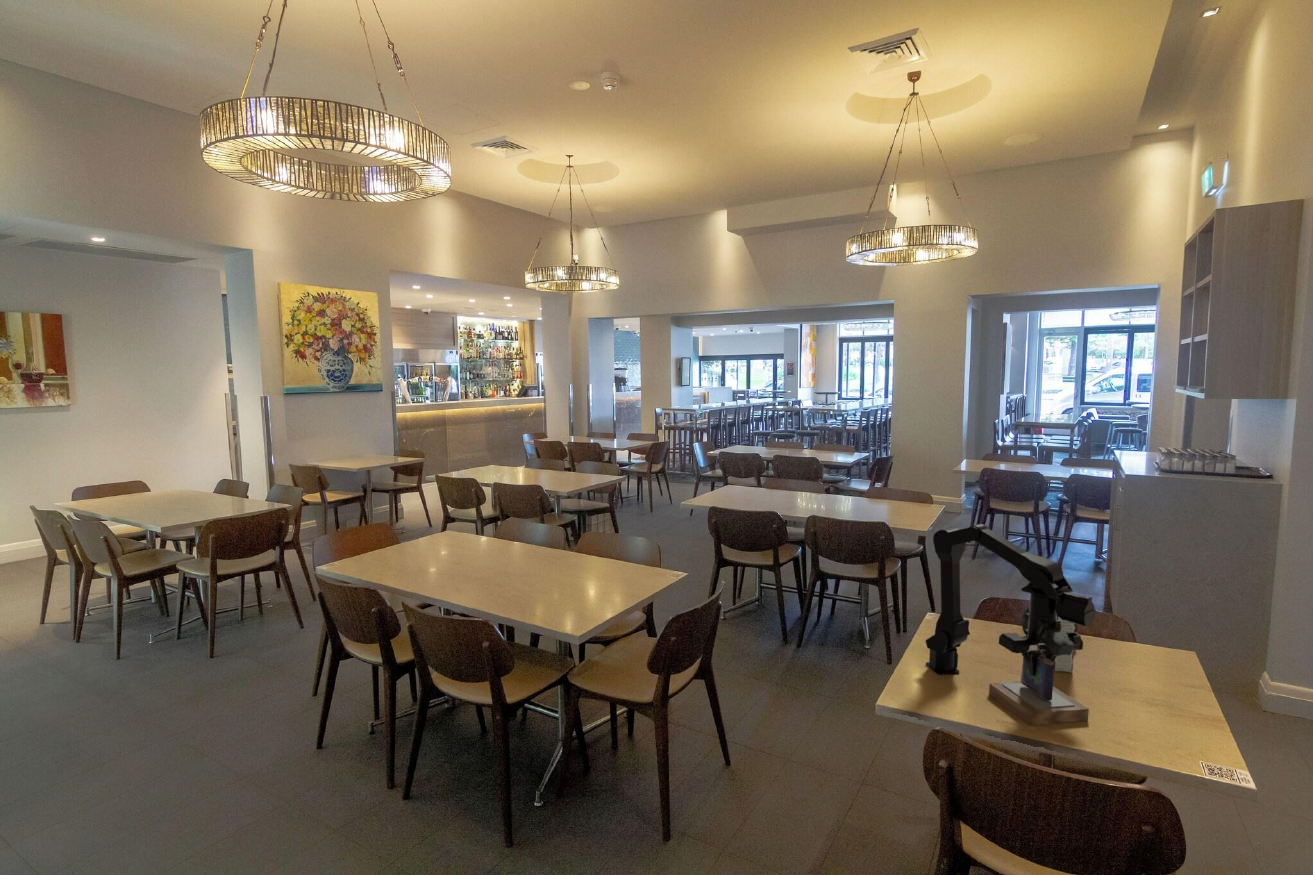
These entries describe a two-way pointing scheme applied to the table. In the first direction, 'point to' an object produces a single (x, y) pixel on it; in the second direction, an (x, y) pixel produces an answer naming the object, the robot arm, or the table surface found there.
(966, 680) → the table surface
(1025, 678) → the flask
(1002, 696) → the walnut plinth
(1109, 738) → the table surface
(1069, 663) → the candy bar box
